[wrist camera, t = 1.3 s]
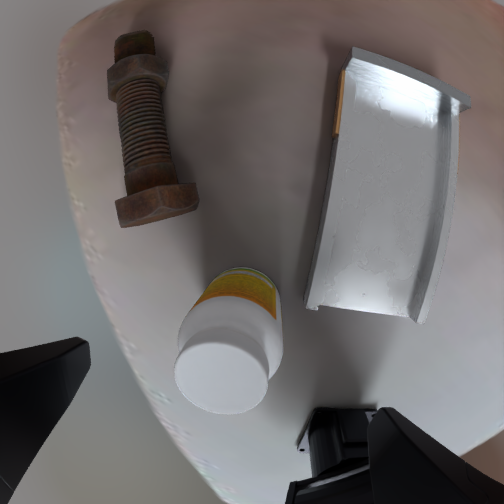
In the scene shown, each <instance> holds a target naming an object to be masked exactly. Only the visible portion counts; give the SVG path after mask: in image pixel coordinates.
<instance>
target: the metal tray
mask: <svg viewBox="0 0 504 504" xmlns="http://www.w3.org/2000/svg"><path fill="white" fill-rule="evenodd" d="M469 108H471V99H470V96H469V95H467V94H465V93H463V92H462V91H460V90H458V89H456V88H454V87H453V86H451V85H449V84H447V83H445V82H443V81H441V80H439V79H437V78H435V77H433V76H431V75H429V74H426V73H424V72H422V71H420V70H418V69H415V68H413V67H410V66H408V65H406V64H403V63H401V62H398V61H395V60H393V59H390V58H387V57H384V56H382V55H379V54H376V53H373V52H370V51H366V50H363V49H360V48H356V47H352V49H351V51H350V52H349V54H348V56H347V58H346V60H345V62H344V64H343V66H342V68H341V73H340V75H339V79H338V89H337V99H336V107H335V116H334V124H333V131H332V137H333V145H332V152H331V159H330V165H329V172H328V178H327V184H326V190H325V196H324V201H323V207H322V212H321V218H320V223H319V228H318V233H317V239H316V243H315V248H314V253H313V258H312V263H311V267H310V272H309V276H308V281H307V285H306V290H305V294H304V298H303V301H304V304H305V307H306V309H311V310H318V307H319V305H324V306H330V307H337V308H344V309H351V310H358V311H365V312H372V313H380V314H388V315H396V316H404V317H410V318H411V319H412V320H414V321H415V322H416V323H420V324H424V323H425V321H426V318H427V315H428V312H429V309H430V306H431V303H432V300H433V296H434V293H435V290H436V286H437V283H438V279H439V276H440V272H441V268H442V264H443V260H444V256H445V251H446V247H447V242H448V237H449V232H450V226H451V220H452V214H453V208H454V200H455V192H456V183H457V174H458V165H459V143H460V116H459V113H460V112H462V111H465V110H467V109H469Z"/></svg>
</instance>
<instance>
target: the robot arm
mask: <svg viewBox="0 0 504 504" xmlns="http://www.w3.org/2000/svg"><path fill="white" fill-rule="evenodd" d="M90 366H91V358H90V347H89V343H88V342H87V341H86V340H84V339H82V338H79V337H73V338H69V339H64V340H60V341H56V342H51V343H47V344H42V345H38V346H33V347H29V348H24V349H19V350H14V351H9V352H4V353H0V504H8V502H9V500H10V499H11V497H12V495H13V493H14V491H15V489H16V487H17V486H18V484H19V482H20V481H21V479H22V477H23V475H24V474H25V472H26V471H27V469H28V467H29V466H30V464H31V463H32V461H33V459H34V458H35V456H36V455H37V453H38V451H39V450H40V448H41V447H42V445H43V444H44V442H45V440H46V439H47V438H48V436H49V434H50V433H51V431H52V430H53V428H54V427H55V425H56V424H57V422H58V421H59V420H60V418H61V417H62V415H63V414H64V412H65V411H66V409H67V408H68V406H69V405H70V403H71V402H72V400H73V398H74V396H75V394H76V393H77V391H78V389H79V387H80V385H81V383H82V382H83V380H84V378H85V376H86V374H87V373H88V371H89V369H90ZM318 412H321V413H318ZM372 414H373V415H372ZM297 451H298V452H299V453H310V461H311V470H312V478H309V479H305V480H301V481H294V482H290V485H289V489H288V493H287V497H286V502H285V504H504V485H503V484H501V483H499V482H498V481H495V480H494V479H492V478H490V477H488V476H487V475H485V474H483V473H482V472H480V471H479V470H477V469H476V468H474V467H473V466H471V465H470V464H468V463H467V462H466V463H465V461H464V460H463V459H461V458H460V457H458V456H457V455H456V454H454V453H453V452H451V451H450V450H449V449H447V448H446V447H444V446H443V445H442V444H440V443H439V442H438V441H436V440H435V439H434V438H432V437H431V436H430V435H428V434H427V433H425V432H424V431H423V430H421V429H420V428H419V427H417V426H416V425H415V424H413V423H412V422H411V421H410V420H408V419H407V418H406V417H404V416H403V415H402V414H400V413H399V412H398V411H396V410H395V409H394V408H392V407H382V408H380V409H379V410H377V409H340V408H322V407H319V408H316V409H314V411H313V413H312V416H311V418H310V420H309V422H308V425H307V427H306V429H305V431H304V434H303V436H302V438H301V440H300V442H299V444H298V447H297Z"/></svg>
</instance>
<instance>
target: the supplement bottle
mask: <svg viewBox="0 0 504 504" xmlns="http://www.w3.org/2000/svg"><path fill="white" fill-rule="evenodd" d="M178 350H179V355H178V357H177V359H176V362H175V366H174V377H175V381H176V384H177V386H178V388H179V390H180V391H181V393H182V394H183V395H184V396H185V397H186V398H187V399H188V400H189V401H190V402H191V403H193V404H194V405H196V406H197V407H199V408H201V409H203V410H206V411H209V412H212V413H216V414H223V415H232V414H239V413H243V412H246V411H248V410H250V409H252V408H253V407H255V406H256V405H257V404H259V403H260V402H261V401H262V399H263V398H264V396H265V394H266V392H267V388H268V380H269V379H270V378H271V377H272V376H273V375H274V373H275V372H276V371H277V369H278V367H279V365H280V363H281V360H282V356H283V328H282V312H281V301H280V296H279V292H278V290H277V288H276V286H275V285H274V283H273V282H272V281H271V280H270V279H269V278H268V277H267V276H266V275H264V274H263V273H261V272H260V271H257V270H255V269H252V268H246V267H238V268H232V269H229V270H226V271H224V272H222V273H221V274H219V275H218V276H217V277H216V278H215V279H214V280H213V281H212V282H211V283H210V285H209V286H208V287H207V289H206V290H205V291H204V293H203V294H202V295H201V297H200V298H199V300H198V301H197V302H196V304H195V305H194V306H193V308H192V309H191V310H190V312H189V313H188V314H187V316H186V317H185V319H184V321H183V322H182V325H181V327H180V330H179V334H178Z"/></svg>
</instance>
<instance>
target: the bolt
mask: <svg viewBox="0 0 504 504" xmlns="http://www.w3.org/2000/svg"><path fill="white" fill-rule="evenodd" d="M151 36H153V35H152V34H150V32H148V31H146V30H142V31H137V32H132V33H128V34H124V35H121V36H120V37H118V38H117V40H116V41H115V47H114V53H115V56H114V57H115V64H114V65H113V66H112V67H110V68H109V69H108V70H107V80H108V97H109V100H111V101H113V102H116V103H117V110H118V111H117V113H118V122H119V131H120V138H121V143H122V145H121V146H122V153H123V154H122V156H123V162H124V167H125V169H124V170H125V176H124V178H125V185H126V191H127V196H126V197H123V198H121V199H118V200H116V201H115V205H116V210H117V215H118V220H119V224H120V227H121V228H127V227H133V226H140V225H144V224H148V223H152V222H156V221H160V220H164V219H167V218H171V217H175V216H178V215H182V214H185V213H188V212H190V211H193V210H196V209H197V207H198V203H199V197H198V192H197V187H196V183H185V184H178V181H177V176H176V172H175V167H174V164H173V163H172V161H171V156H170V151H169V149H170V148H169V146H168V145H169V143H168V137H167V133H166V128H165V127H166V125H165V120H164V115H163V114H164V112H163V108H162V100H161V93H162V92H163V91H164V90H165V88H166V86H167V82H168V75H169V71H168V65H167V61H165V60H163V59H161V58H160V57H157V56H156V55H155V46H154V37H151Z"/></svg>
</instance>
